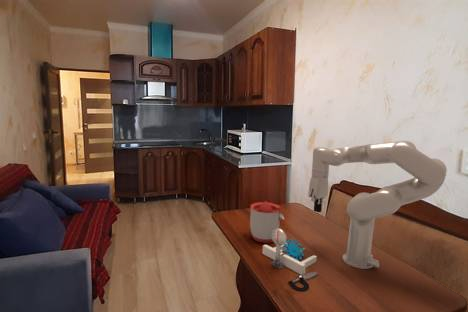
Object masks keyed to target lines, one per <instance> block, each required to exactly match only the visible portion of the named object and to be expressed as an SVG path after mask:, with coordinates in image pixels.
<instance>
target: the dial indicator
mask: <svg viewBox="0 0 468 312" xmlns="http://www.w3.org/2000/svg"><path fill="white" fill-rule="evenodd" d="M272 240H273V243H274V244H275V247H276V255H275V260H272V261H271V262H270V263H269V265H270V266H273V267H274V268H276V269H278V270H282V269H284V268H285V266H284V265H283V264H282V263H280V253H281V252H282V253H283V252H284V251H285V249H282V250H281V246H282V245H284V244H285V243H286V241H287V240H288V237H287V233H286V232H285V230H283V228H280V227H279V228H277V229H275V230H273V231H272Z"/></svg>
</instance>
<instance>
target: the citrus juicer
mask: <svg viewBox="0 0 468 312" xmlns="http://www.w3.org/2000/svg"><path fill="white" fill-rule="evenodd" d="M249 206H250V216H249V217H250V219H249V222H250V223H249V227H250V233H251V236H252V239H253V240H255V242H259V243H265V244H267V243H268V244H269V243H272V242H273V240H272V231H273V230H275V229H277V228H280V222H281V220H285V217H284V215H283V214H282V213H281V206H280V205H278V204H276V203H273V202H268V201H264V202H254V203H252V204H250V205H249ZM273 243H274V242H273Z"/></svg>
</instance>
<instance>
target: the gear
mask: <svg viewBox="0 0 468 312" xmlns="http://www.w3.org/2000/svg"><path fill="white" fill-rule="evenodd" d="M286 243H287V244H288V246H287V244H284V247H286V248H287V249H286V248H285V251H283V252H284V253H285V252H286V253H285V254H286V255H288V256H290V257H292V258H294V259H296V260H298V261H301V260H303V257H304V255H305V254H304V253H303V252H304V250H306V248H305V247H302V244H301V243H298V240H296V239H295V240H294V239H293V238H290V239H287V241H286ZM297 243H298V244H297ZM301 247H302V248H301Z"/></svg>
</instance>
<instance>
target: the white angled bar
mask: <svg viewBox="0 0 468 312" xmlns="http://www.w3.org/2000/svg"><path fill="white" fill-rule="evenodd" d="M285 244H287V243H285ZM287 246H288V244H287ZM285 248H286V247H284V245H282V246H281V250H282V249H285ZM286 249H287V248H286ZM287 250H288V249H287ZM262 254H263V255H264V256H266V257H268V258H269V259H271V260H272V261H274V260H275V255H276V246H274V247H272V246H270V245H268V244H264V245H262ZM286 254H287V253H285V252H284V253H283V252H281V253H280V263H282V264H283V265H284V267H286V268H287V269H290V270H291V271H293V272H294V273H295V272H296V273H297V274H299V275H304V274H306V269H307V268H308V267H309V266H311V265H313V264H314V263H317V256H316V255H312V256H309V257H307V258H305V259H303V260H302V261H301V260H299V259H298V260H296V258H295V257H294V258H292V256H291V255H290V256H288V255H286Z"/></svg>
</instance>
